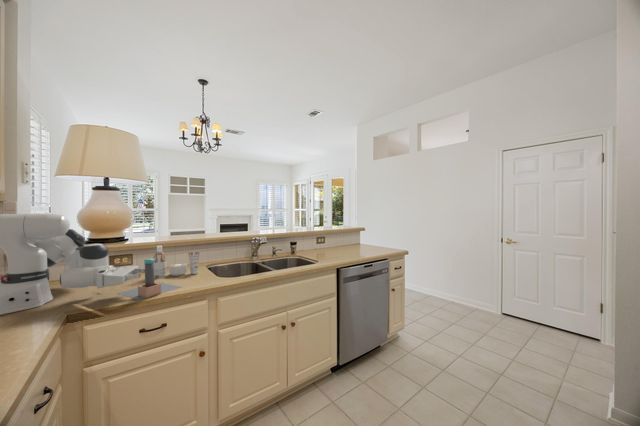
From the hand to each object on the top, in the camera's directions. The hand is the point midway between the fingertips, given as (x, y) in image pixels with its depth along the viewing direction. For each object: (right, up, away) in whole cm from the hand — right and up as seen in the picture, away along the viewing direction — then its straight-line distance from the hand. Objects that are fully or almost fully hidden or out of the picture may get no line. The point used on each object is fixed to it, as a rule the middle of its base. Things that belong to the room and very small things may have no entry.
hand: (143, 273), depth 116 cm
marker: (+2, -10, +1) cm, 10 cm away
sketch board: (-1, -11, +7) cm, 13 cm away
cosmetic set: (-5, -11, +37) cm, 38 cm away
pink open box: (+2, -10, +1) cm, 11 cm away
